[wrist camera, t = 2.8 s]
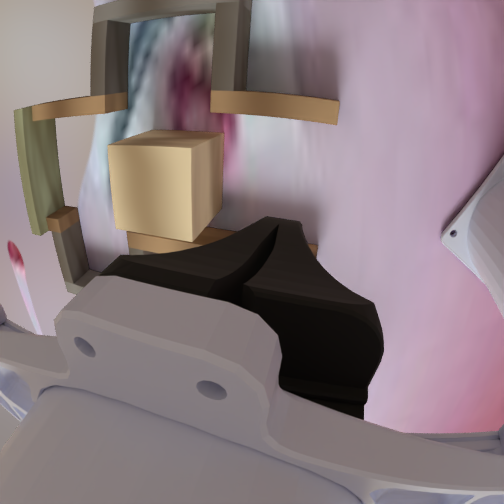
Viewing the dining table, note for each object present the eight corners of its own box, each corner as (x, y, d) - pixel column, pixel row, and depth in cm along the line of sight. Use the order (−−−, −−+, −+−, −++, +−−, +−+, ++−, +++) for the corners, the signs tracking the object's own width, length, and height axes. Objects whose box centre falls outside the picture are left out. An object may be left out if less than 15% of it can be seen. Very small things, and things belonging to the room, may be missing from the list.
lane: (346, 0, 13) (348, -18, 10) (301, 329, 24) (294, 362, 21) (46, 33, 17) (14, 34, 14) (71, 274, 28) (49, 293, 25)
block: (224, 132, 19) (191, 148, 14) (222, 207, 21) (192, 242, 17) (153, 129, 19) (107, 145, 15) (156, 199, 22) (115, 228, 18)
